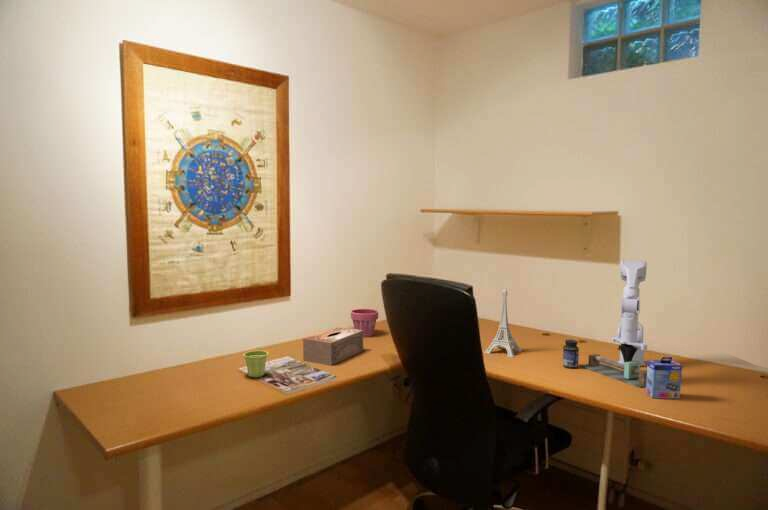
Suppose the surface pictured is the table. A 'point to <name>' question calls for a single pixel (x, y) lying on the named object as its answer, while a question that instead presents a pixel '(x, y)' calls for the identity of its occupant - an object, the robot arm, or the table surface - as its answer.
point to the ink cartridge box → (663, 378)
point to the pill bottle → (570, 354)
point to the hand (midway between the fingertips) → (627, 363)
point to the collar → (628, 369)
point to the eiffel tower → (507, 339)
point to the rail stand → (615, 370)
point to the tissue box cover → (332, 345)
